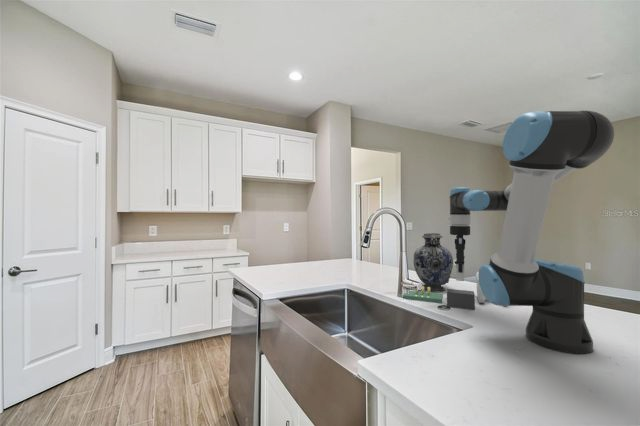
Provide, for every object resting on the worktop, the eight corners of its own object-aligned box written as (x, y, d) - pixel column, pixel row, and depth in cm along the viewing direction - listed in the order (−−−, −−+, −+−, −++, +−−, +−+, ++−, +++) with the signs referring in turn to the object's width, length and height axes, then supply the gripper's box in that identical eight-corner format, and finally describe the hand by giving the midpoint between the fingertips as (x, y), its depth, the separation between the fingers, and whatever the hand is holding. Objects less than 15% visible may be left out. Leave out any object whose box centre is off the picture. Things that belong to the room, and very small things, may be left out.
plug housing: (473, 305, 117) (473, 291, 117) (474, 310, 112) (474, 294, 112) (447, 302, 122) (447, 288, 122) (446, 306, 116) (446, 292, 116)
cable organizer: (508, 308, 114) (507, 279, 115) (478, 304, 119) (477, 276, 119) (502, 298, 128) (502, 272, 128) (475, 295, 133) (475, 270, 133)
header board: (441, 303, 121) (441, 291, 121) (402, 298, 127) (402, 287, 127) (442, 297, 130) (442, 286, 130) (406, 293, 136) (406, 282, 137)
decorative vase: (456, 295, 131) (455, 234, 132) (414, 293, 137) (413, 234, 138) (450, 285, 152) (449, 232, 152) (413, 283, 157) (412, 232, 158)
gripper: (450, 224, 130) (450, 270, 130) (449, 226, 108) (449, 282, 108) (468, 224, 127) (468, 272, 127) (472, 226, 104) (471, 285, 104)
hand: (459, 277), depth 117 cm, fingers open, 13 cm apart
